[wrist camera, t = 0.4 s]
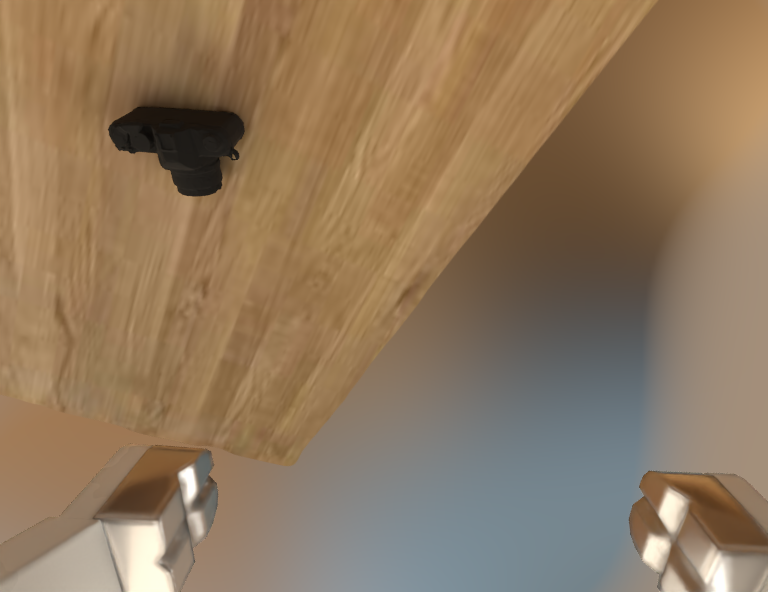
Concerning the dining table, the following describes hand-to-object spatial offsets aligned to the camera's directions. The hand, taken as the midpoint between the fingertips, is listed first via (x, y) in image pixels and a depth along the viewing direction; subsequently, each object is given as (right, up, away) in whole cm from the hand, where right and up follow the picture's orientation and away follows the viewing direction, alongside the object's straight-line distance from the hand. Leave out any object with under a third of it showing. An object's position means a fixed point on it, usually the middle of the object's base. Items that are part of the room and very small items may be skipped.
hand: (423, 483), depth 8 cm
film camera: (-26, +24, +48) cm, 60 cm away
